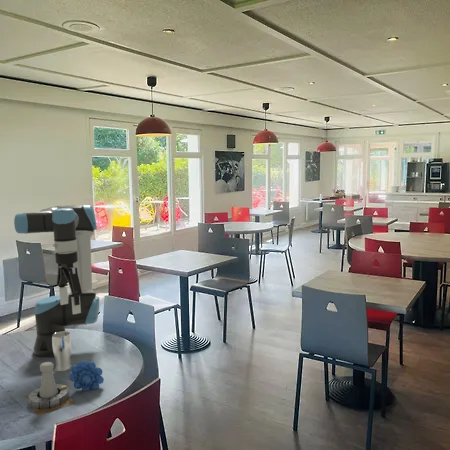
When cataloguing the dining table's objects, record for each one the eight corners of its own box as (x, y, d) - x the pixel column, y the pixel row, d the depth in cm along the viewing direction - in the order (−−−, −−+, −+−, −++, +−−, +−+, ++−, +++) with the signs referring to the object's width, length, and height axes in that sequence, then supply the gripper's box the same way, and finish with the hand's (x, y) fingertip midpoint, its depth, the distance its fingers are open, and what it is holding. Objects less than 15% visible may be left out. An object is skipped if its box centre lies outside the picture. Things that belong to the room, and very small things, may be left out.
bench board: (24, 399, 158) (24, 396, 158) (59, 388, 166) (59, 385, 166) (38, 419, 146) (37, 415, 146) (75, 406, 153) (75, 403, 153)
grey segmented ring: (25, 398, 157) (24, 390, 156) (61, 387, 164) (61, 379, 164) (35, 413, 147) (34, 404, 147) (74, 400, 154) (73, 392, 154)
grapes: (69, 400, 157) (67, 367, 155) (70, 391, 163) (68, 359, 162) (104, 395, 160) (102, 362, 159) (104, 386, 167) (102, 355, 165)
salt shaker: (43, 395, 158) (40, 360, 157) (60, 394, 159) (57, 359, 157) (37, 404, 153) (34, 367, 151) (55, 403, 153) (52, 366, 151)
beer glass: (76, 368, 182) (74, 331, 180) (65, 375, 176) (62, 338, 174) (62, 365, 185) (59, 330, 183) (50, 373, 178) (47, 336, 176)
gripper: (45, 248, 172) (49, 302, 175) (67, 258, 152) (71, 320, 155) (65, 245, 176) (69, 298, 179) (89, 255, 156) (93, 315, 159)
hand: (70, 308), depth 167 cm, fingers open, 13 cm apart
